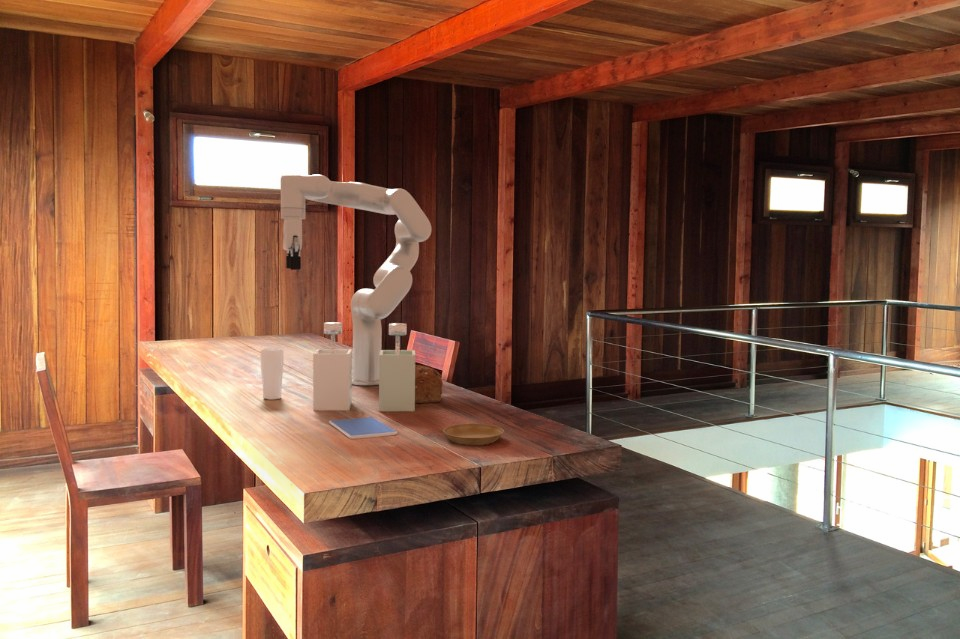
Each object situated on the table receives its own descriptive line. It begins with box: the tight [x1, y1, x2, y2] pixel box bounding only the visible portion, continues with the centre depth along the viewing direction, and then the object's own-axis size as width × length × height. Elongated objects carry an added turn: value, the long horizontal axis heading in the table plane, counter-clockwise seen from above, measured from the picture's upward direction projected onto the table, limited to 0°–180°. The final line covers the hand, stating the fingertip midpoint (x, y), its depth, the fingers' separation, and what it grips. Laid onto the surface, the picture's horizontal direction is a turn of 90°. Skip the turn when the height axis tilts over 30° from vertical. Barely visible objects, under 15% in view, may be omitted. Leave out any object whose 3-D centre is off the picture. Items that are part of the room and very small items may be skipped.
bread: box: [415, 364, 444, 404], centre depth 248 cm, size 19×11×10 cm, turn 21°
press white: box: [312, 348, 353, 411], centre depth 232 cm, size 10×10×16 cm
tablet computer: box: [328, 416, 398, 440], centre depth 207 cm, size 19×13×1 cm, turn 26°
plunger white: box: [323, 321, 343, 354], centre depth 231 cm, size 8×8×21 cm
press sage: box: [378, 349, 416, 412], centre depth 232 cm, size 10×10×16 cm
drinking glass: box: [259, 347, 285, 401], centre depth 242 cm, size 7×7×15 cm
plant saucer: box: [442, 423, 505, 446], centre depth 197 cm, size 15×15×3 cm
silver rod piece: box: [388, 322, 408, 355], centre depth 232 cm, size 8×8×21 cm
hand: (293, 269), depth 255 cm, fingers open, 9 cm apart
